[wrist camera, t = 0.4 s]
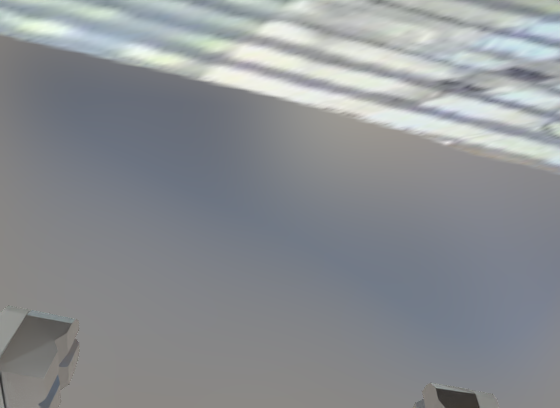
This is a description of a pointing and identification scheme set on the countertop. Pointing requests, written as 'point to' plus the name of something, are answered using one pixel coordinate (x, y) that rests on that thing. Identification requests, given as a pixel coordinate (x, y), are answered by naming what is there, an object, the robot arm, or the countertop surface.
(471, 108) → the countertop surface
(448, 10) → the countertop surface
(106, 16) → the countertop surface
